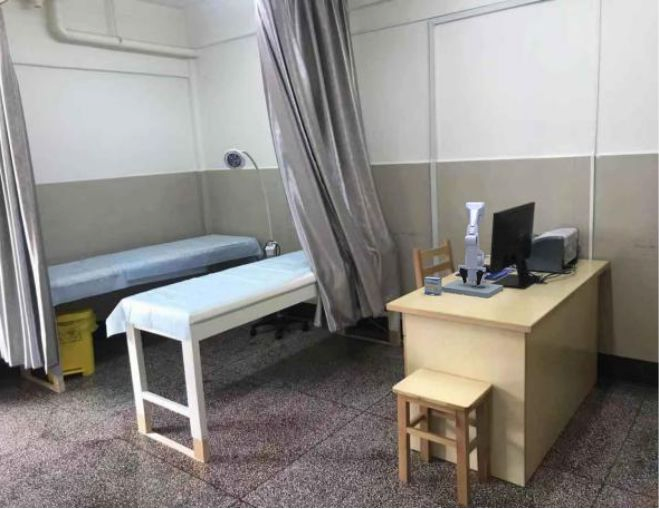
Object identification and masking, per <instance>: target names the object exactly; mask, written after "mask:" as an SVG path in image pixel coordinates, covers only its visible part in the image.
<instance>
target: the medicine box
mask: <svg viewBox="0 0 659 509" xmlns="http://www.w3.org/2000/svg"><path fill="white" fill-rule="evenodd" d="M442 279H443V278H442V277H437V276H426V277H424V294H425V295H426V294H435V295H434V296H440V295H441V293H443V292H442V286H443V285H442V281H443V280H442Z"/></svg>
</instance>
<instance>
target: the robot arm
mask: <svg viewBox="0 0 659 509" xmlns="http://www.w3.org/2000/svg"><path fill="white" fill-rule="evenodd" d="M465 213H466V215H465V216H466V218H467V219H469V224H468V225H467V228H466V233H465V234H466V235H465V236H464V246H465V248H464V249H465V258H464V263H465V264H458V265H457V269H458V273H459V274H460V276H461V280H463V283H466V282H467V281H473V280H477V285H480V283H486V282H485V281H486V280H485V272H487V268H486V266H485V252H484V251H483V250H481V248H480V235H481V234H480V231H481V230H480V228H481V224H480V223H481V220H482V219H484V218H485V215H486V202H485V201H473V202H472V201H471V202H469V201H466V203H465ZM484 266H485V267H484Z"/></svg>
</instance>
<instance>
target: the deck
mask: <svg viewBox="0 0 659 509" xmlns="http://www.w3.org/2000/svg"><path fill="white" fill-rule="evenodd" d="M471 283H472V281H468V280H467V282H466V283H463V279H455V280H453V281H451V282H448V283H446V284H444V285H442V291H444V292H443V293H447V292H449V294H455V293H456V295H462V294H464V295H463V296H469V295H470V297H476V296H477V298H483V297H485V298H484V299H489V298H491V297H493V296H495V295H496V293H497V294H499V293H500V292H499V291H501V290H502V291H504V285H503V284H497V283H496V284H494V283H486V282H483V283H480V285H478V286H476V287H474V286H472V284H471ZM502 291H501V292H502ZM498 292H499V293H498ZM494 294H495V295H494ZM492 295H493V296H492Z"/></svg>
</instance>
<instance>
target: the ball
mask: <svg viewBox="0 0 659 509" xmlns="http://www.w3.org/2000/svg"><path fill="white" fill-rule="evenodd" d="M471 284H472V286H474V287H476V286H478V285H477V280H473V281H472V283H471Z"/></svg>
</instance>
